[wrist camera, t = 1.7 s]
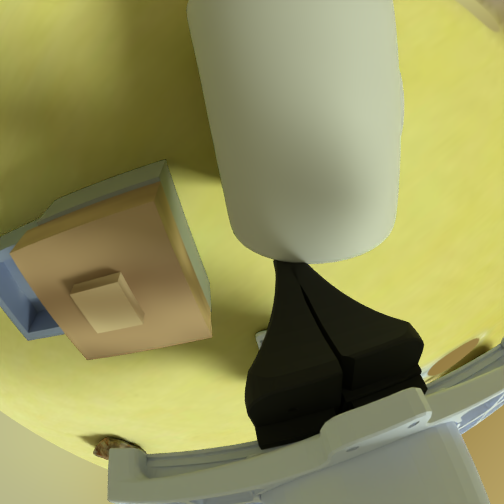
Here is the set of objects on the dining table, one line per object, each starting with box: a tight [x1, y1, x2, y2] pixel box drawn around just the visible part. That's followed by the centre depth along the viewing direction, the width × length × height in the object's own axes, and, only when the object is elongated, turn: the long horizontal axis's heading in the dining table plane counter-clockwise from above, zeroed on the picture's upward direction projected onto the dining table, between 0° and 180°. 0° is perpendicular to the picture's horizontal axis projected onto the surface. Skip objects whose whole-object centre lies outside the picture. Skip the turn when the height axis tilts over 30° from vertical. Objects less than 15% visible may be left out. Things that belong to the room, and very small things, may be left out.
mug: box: [186, 0, 404, 264], centre depth 13 cm, size 12×8×11 cm
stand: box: [36, 159, 212, 312], centre depth 18 cm, size 10×8×3 cm
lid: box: [9, 181, 212, 360], centre depth 16 cm, size 9×9×3 cm
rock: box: [93, 437, 147, 460], centre depth 37 cm, size 9×6×10 cm
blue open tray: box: [0, 219, 65, 341], centre depth 18 cm, size 8×8×3 cm
